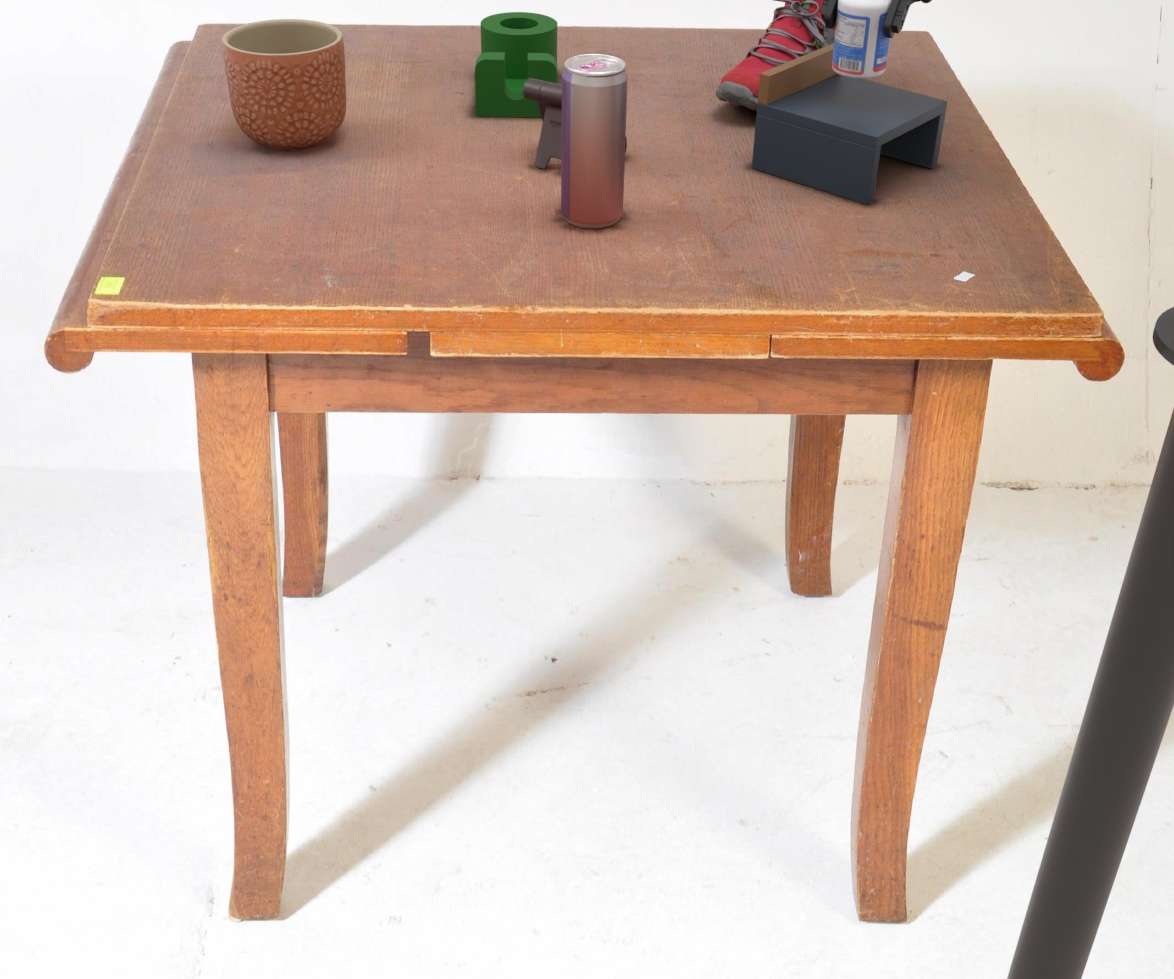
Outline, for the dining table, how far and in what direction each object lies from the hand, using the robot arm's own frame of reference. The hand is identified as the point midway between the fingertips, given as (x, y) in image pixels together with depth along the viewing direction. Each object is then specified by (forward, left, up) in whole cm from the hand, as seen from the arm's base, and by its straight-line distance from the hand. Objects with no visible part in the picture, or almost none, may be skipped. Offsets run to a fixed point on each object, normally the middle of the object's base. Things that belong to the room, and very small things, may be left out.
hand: (858, 28), depth 141 cm
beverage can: (+11, +26, -15) cm, 32 cm away
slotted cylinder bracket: (+41, +4, -15) cm, 44 cm away
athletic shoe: (+17, -16, -15) cm, 27 cm away
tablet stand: (+22, +16, -15) cm, 32 cm away
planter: (+48, +32, -15) cm, 60 cm away
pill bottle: (0, -2, -5) cm, 5 cm away
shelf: (0, -2, -15) cm, 15 cm away
